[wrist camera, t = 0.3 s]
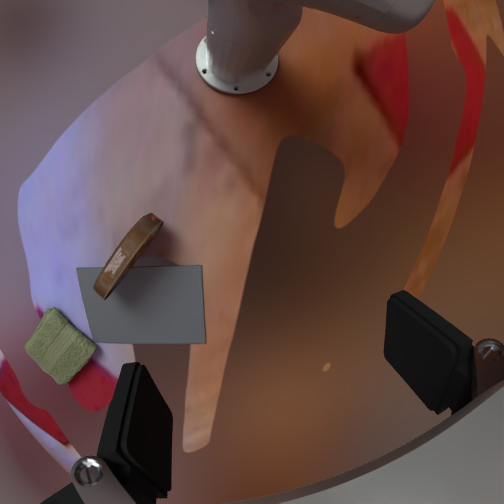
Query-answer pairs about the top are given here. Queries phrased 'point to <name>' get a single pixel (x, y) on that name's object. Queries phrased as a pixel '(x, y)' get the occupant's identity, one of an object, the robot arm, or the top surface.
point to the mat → (147, 306)
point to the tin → (127, 254)
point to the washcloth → (59, 347)
